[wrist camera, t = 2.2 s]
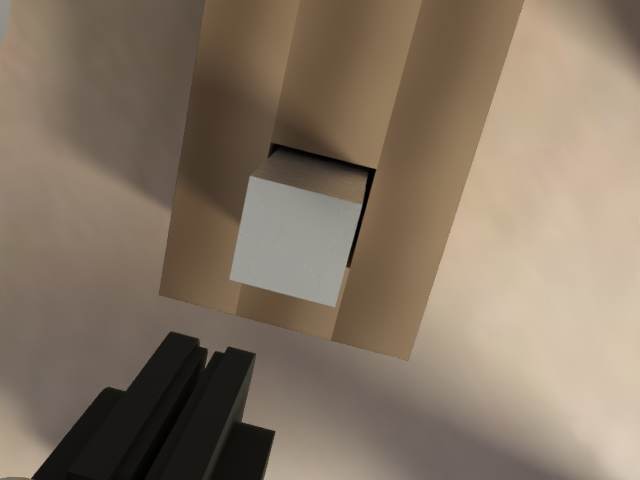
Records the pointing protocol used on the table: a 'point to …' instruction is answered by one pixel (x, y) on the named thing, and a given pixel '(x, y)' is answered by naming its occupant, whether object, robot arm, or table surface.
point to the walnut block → (336, 146)
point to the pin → (299, 224)
